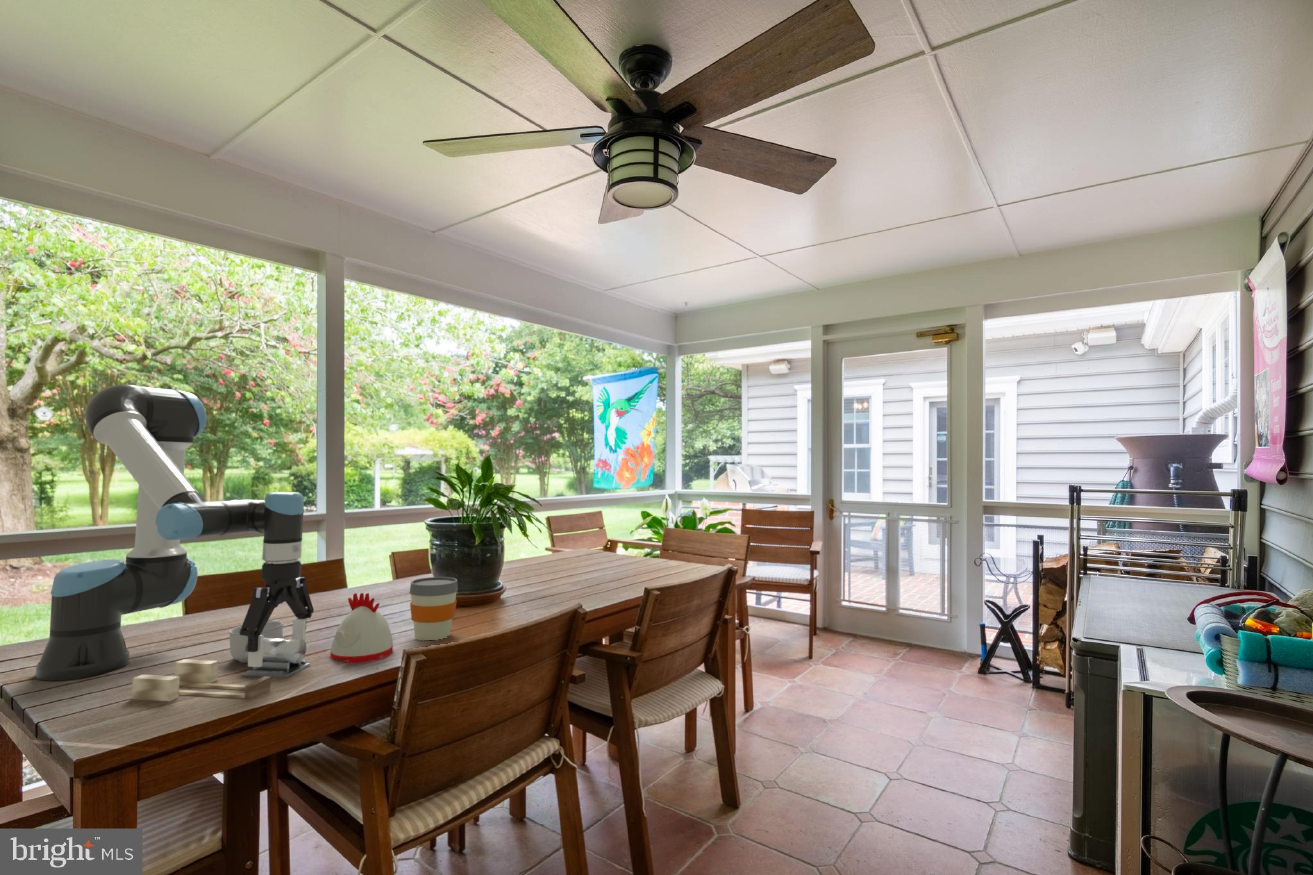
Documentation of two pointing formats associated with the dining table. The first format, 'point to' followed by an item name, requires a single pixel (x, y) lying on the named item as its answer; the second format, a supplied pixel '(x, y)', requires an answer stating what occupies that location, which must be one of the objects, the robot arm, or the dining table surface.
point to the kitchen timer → (362, 633)
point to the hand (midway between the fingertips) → (277, 656)
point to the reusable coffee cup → (433, 606)
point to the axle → (282, 650)
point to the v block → (276, 669)
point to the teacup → (239, 641)
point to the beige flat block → (192, 683)
